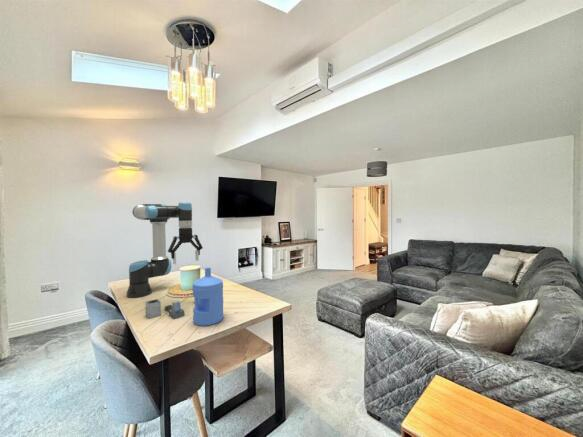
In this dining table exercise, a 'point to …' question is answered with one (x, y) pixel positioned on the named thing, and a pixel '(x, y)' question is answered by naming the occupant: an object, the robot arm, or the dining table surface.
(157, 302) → the socket
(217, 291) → the water jug
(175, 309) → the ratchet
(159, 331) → the dining table surface
